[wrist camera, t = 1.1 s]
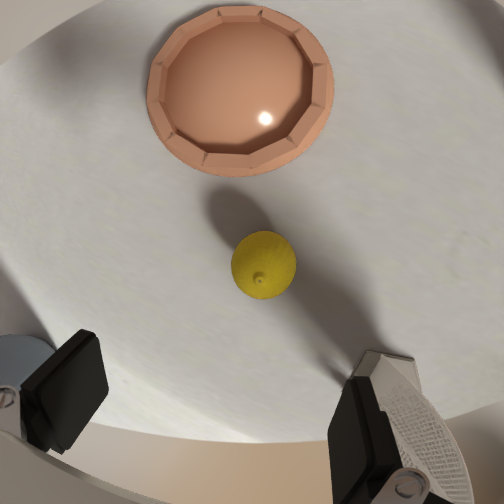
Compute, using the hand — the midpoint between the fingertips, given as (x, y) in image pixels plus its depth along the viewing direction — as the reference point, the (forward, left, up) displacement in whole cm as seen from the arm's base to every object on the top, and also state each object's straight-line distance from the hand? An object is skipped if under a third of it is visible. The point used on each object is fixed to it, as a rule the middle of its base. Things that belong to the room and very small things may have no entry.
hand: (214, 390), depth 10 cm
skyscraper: (-17, +15, -21) cm, 31 cm away
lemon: (-1, +1, -21) cm, 21 cm away
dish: (+3, -15, -21) cm, 26 cm away
